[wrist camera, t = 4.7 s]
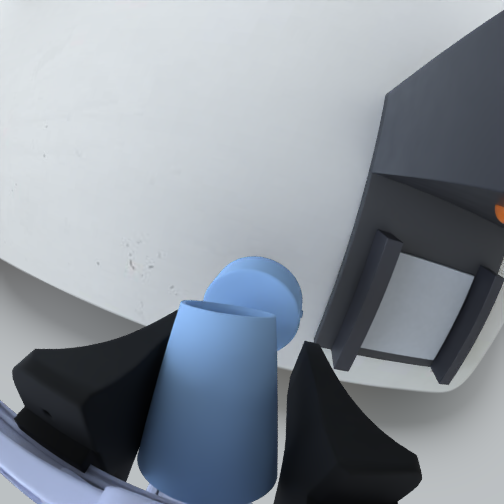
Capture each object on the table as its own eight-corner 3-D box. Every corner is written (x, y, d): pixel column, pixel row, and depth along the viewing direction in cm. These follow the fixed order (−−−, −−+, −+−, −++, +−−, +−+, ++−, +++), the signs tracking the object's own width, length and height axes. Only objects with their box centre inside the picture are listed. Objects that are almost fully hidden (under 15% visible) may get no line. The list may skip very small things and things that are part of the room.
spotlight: (295, 366, 15) (315, 248, 13) (261, 536, 6) (302, 441, 4) (209, 351, 16) (210, 235, 14) (126, 495, 7) (53, 361, 5)
